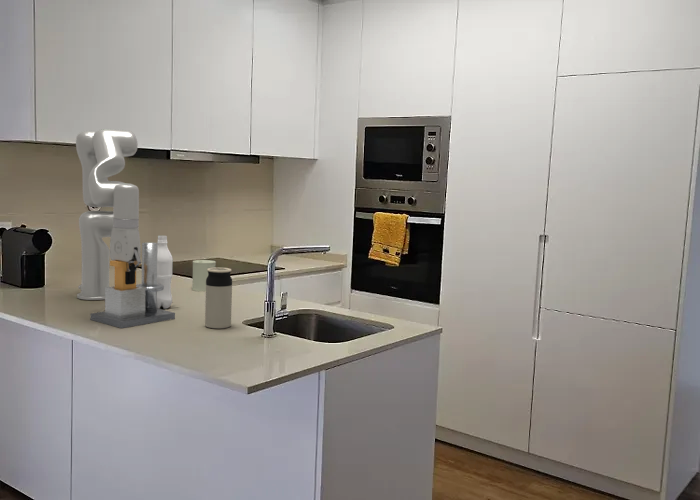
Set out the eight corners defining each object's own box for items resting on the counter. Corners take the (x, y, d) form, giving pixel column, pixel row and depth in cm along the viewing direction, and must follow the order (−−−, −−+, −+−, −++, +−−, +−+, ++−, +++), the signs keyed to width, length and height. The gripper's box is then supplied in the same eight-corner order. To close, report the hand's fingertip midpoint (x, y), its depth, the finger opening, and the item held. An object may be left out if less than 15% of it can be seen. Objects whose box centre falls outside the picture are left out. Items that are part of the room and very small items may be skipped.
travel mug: (218, 330, 209) (220, 271, 207) (199, 326, 213) (200, 268, 211) (236, 326, 216) (237, 269, 214) (217, 322, 220) (218, 266, 218)
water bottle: (176, 307, 241) (177, 235, 238) (164, 310, 234) (165, 237, 231) (158, 304, 243) (159, 234, 240) (146, 308, 236) (147, 235, 234)
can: (187, 290, 275) (187, 260, 273) (200, 287, 283) (201, 258, 282) (206, 292, 271) (207, 262, 270) (219, 289, 280) (220, 260, 278)
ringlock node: (90, 319, 215) (90, 243, 213) (145, 311, 232) (145, 240, 229) (121, 328, 206) (122, 248, 203) (176, 318, 222) (177, 244, 220)
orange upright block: (109, 294, 213) (109, 260, 212) (132, 291, 220) (133, 258, 219) (117, 296, 211) (117, 262, 210) (140, 293, 217) (140, 260, 216)
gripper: (99, 222, 215) (99, 280, 217) (132, 227, 205) (131, 287, 207) (120, 222, 221) (119, 278, 223) (153, 226, 211) (152, 285, 213)
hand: (125, 282), depth 215 cm, fingers closed on orange upright block, 4 cm apart
